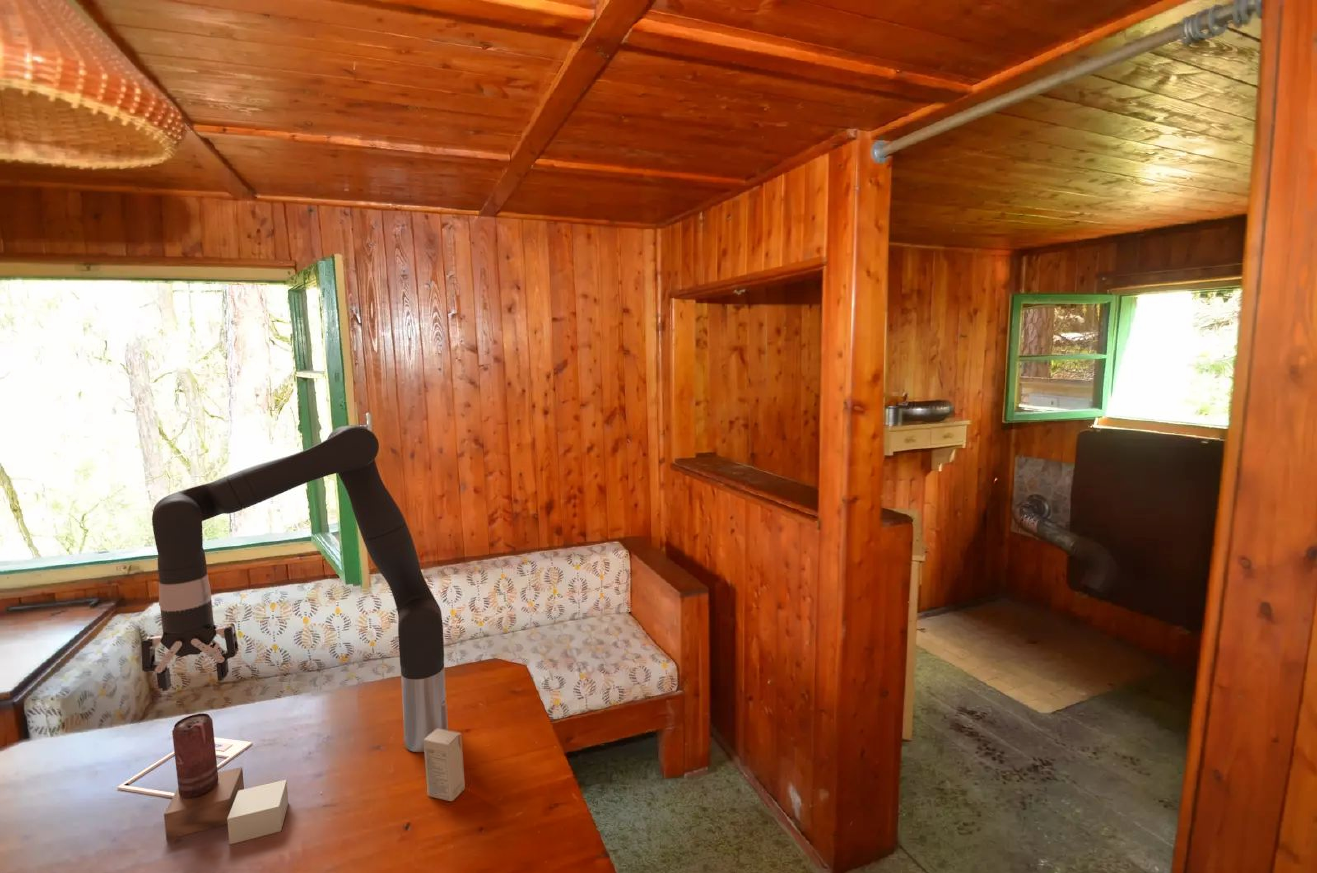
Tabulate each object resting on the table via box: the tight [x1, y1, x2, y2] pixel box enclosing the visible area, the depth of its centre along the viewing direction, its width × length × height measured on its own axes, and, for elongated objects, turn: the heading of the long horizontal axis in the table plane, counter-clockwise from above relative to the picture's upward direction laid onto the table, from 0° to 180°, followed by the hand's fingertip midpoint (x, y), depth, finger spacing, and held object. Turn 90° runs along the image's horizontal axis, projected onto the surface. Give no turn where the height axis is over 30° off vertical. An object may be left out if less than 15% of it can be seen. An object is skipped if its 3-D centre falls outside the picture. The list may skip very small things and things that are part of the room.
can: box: [171, 712, 219, 799], centre depth 116 cm, size 6×6×14 cm
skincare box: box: [423, 728, 466, 802], centre depth 122 cm, size 6×4×12 cm
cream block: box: [227, 779, 289, 845], centre depth 114 cm, size 8×8×5 cm
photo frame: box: [117, 736, 253, 799], centre depth 132 cm, size 15×1×18 cm
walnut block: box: [163, 766, 245, 840], centre depth 117 cm, size 10×10×5 cm
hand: (194, 684), depth 114 cm, fingers open, 8 cm apart
